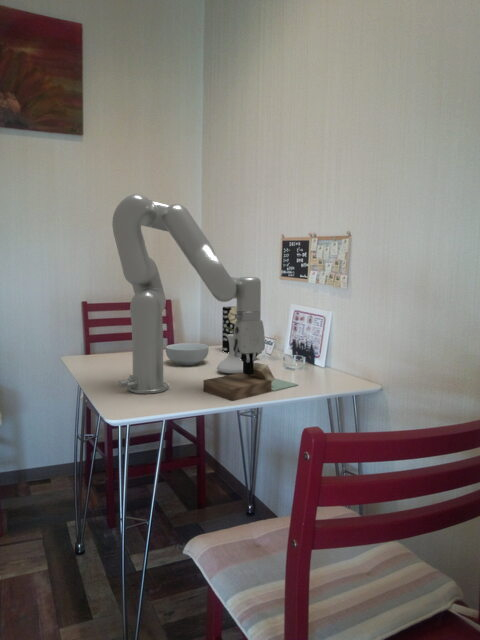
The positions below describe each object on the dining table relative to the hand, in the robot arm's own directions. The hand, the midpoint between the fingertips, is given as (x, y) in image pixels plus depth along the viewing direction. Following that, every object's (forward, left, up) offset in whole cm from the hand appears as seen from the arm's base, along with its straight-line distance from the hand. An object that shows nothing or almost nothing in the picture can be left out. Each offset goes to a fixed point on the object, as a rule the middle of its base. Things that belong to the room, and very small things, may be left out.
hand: (248, 373), depth 154 cm
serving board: (-4, 0, -5) cm, 7 cm away
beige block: (+5, 0, -1) cm, 5 cm away
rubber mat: (+10, 0, -5) cm, 11 cm away
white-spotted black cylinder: (+38, +52, -5) cm, 65 cm away
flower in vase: (+12, +20, -5) cm, 24 cm away
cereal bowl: (+8, +44, -5) cm, 45 cm away
